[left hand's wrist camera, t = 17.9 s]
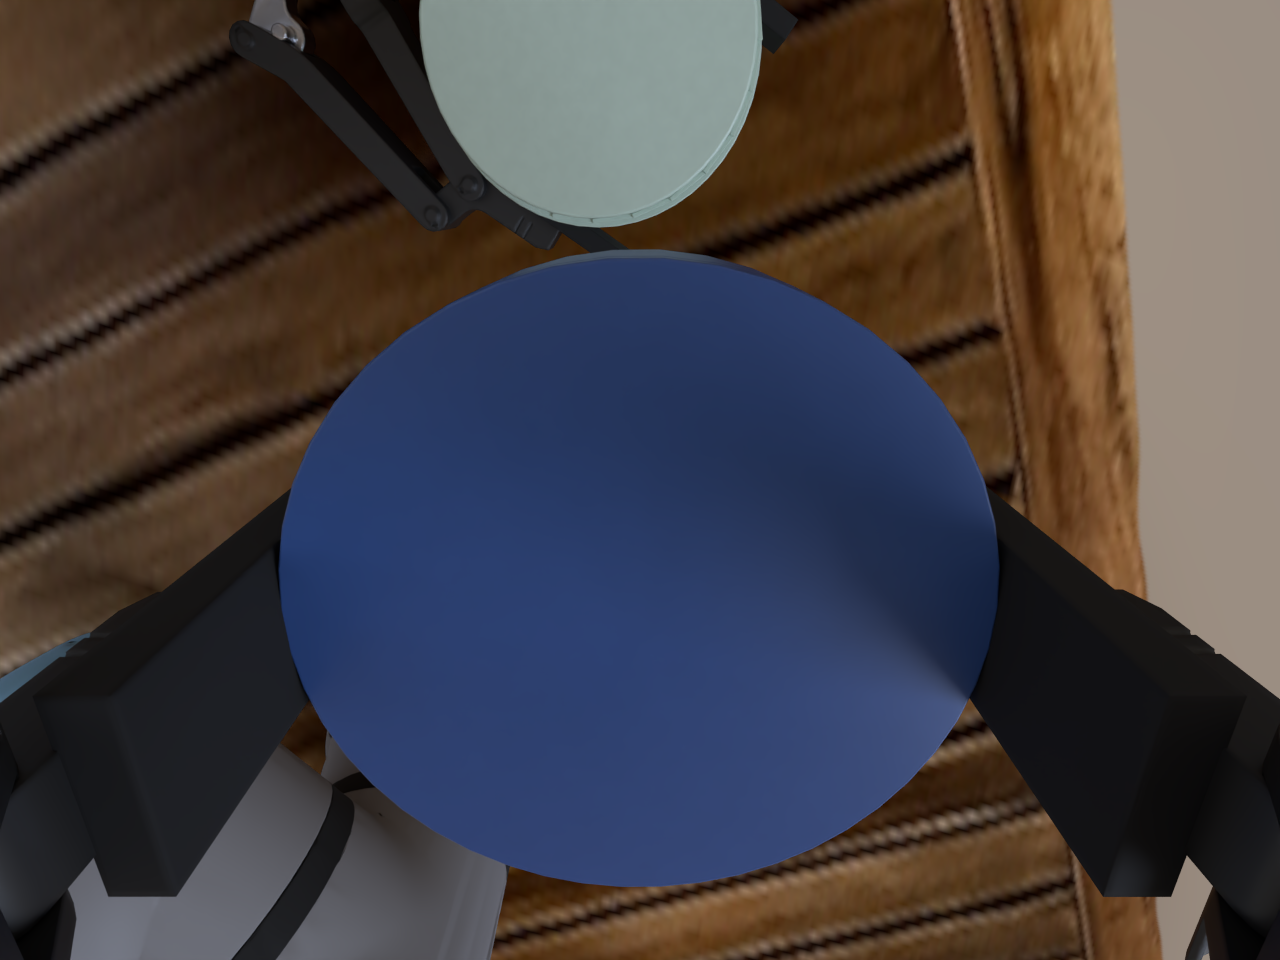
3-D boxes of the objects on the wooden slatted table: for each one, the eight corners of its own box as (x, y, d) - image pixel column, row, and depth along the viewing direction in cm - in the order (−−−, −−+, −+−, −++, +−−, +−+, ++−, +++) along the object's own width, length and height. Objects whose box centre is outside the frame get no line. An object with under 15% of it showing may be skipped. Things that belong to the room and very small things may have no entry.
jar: (672, 242, 35) (681, 282, 20) (497, 166, 34) (366, 147, 19) (753, 44, 32) (838, -88, 17) (562, -48, 31) (467, -279, 16)
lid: (671, 81, 9) (679, 49, 8) (1060, 588, 12) (1134, 655, 10) (206, 544, 12) (128, 603, 10) (618, 878, 15) (615, 973, 13)
